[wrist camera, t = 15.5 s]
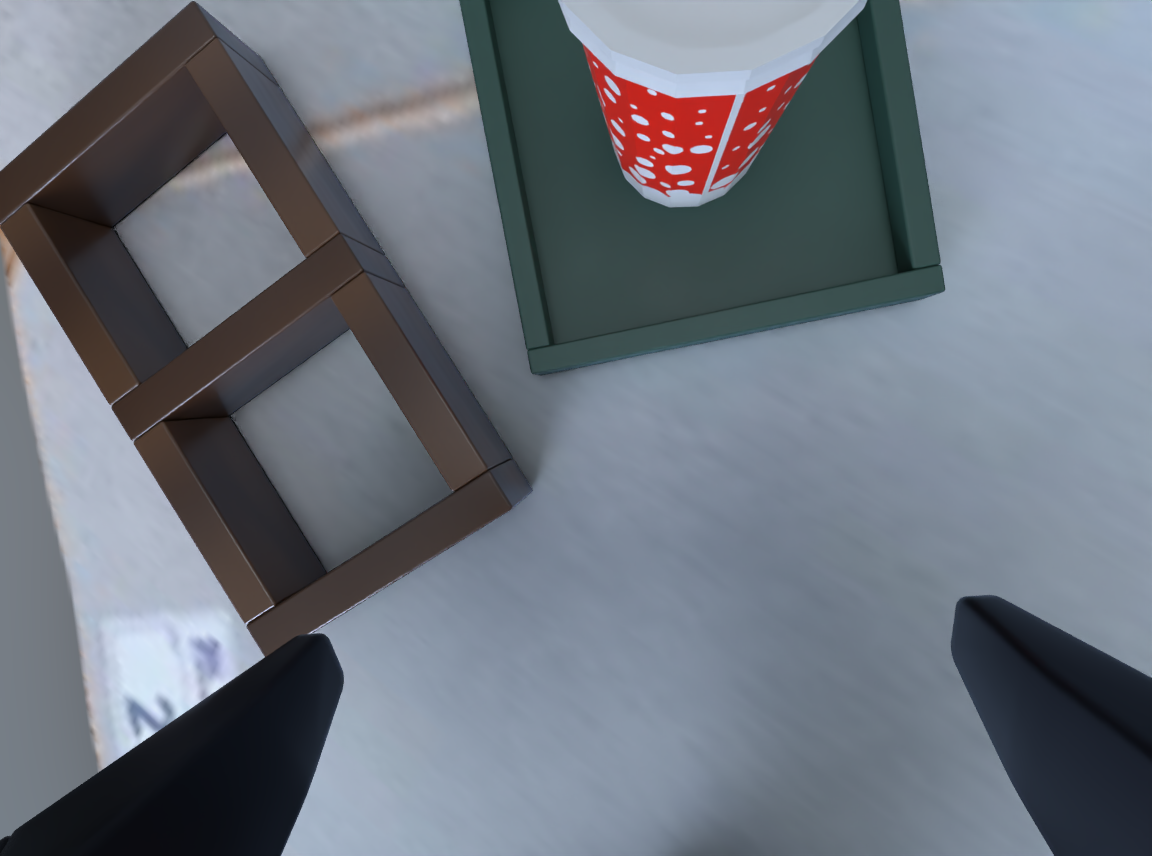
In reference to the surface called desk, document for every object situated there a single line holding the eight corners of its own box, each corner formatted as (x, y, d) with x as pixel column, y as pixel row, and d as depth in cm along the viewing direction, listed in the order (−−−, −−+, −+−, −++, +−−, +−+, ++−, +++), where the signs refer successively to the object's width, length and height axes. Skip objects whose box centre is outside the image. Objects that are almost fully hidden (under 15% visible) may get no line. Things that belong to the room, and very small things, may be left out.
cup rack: (534, 490, 20) (513, 508, 17) (320, 623, 21) (266, 662, 18) (260, 56, 20) (192, -3, 17) (69, 218, 21) (-25, 190, 18)
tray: (921, 299, 17) (946, 290, 16) (540, 375, 19) (531, 374, 18) (851, -139, 17) (870, -190, 15) (464, -18, 19) (449, -52, 17)
